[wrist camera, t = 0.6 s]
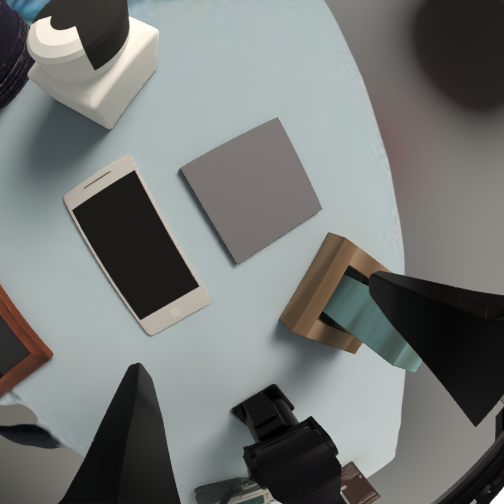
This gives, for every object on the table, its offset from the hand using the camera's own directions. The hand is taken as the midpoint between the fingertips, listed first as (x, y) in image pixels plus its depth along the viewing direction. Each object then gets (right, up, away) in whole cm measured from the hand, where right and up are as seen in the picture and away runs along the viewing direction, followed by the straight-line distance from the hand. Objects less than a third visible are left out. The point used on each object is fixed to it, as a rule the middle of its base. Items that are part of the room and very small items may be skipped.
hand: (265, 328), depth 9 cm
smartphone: (-11, +3, +14) cm, 18 cm away
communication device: (+1, -39, +29) cm, 49 cm away
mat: (0, +8, +16) cm, 18 cm away
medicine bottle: (-13, +18, +9) cm, 24 cm away
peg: (+9, -2, +22) cm, 24 cm away
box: (+20, -47, +37) cm, 63 cm away
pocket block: (+9, -2, +22) cm, 24 cm away
